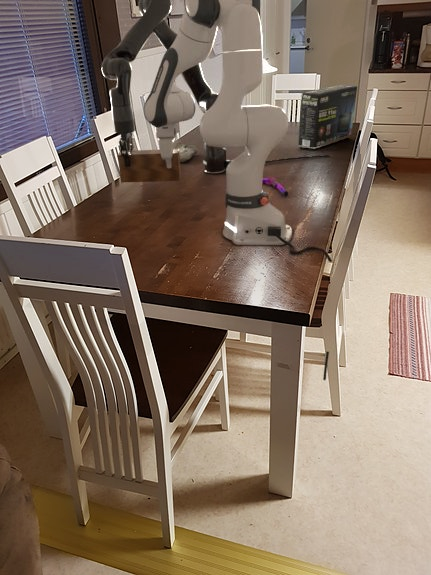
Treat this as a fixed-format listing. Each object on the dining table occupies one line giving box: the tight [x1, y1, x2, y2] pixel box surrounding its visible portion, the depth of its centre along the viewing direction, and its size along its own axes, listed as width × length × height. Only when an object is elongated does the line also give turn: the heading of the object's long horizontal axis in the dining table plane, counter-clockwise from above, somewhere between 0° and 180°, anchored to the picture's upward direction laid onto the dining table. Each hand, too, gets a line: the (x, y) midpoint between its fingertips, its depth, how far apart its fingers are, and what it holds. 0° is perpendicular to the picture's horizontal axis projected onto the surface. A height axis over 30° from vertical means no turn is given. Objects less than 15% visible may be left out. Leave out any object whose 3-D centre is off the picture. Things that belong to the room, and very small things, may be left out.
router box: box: [297, 84, 358, 151], centre depth 238 cm, size 36×11×27 cm, turn 134°
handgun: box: [262, 176, 289, 197], centre depth 185 cm, size 21×8×2 cm, turn 11°
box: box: [116, 149, 182, 183], centre depth 176 cm, size 23×6×11 cm, turn 89°
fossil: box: [175, 142, 199, 163], centre depth 229 cm, size 18×11×15 cm
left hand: (129, 164), depth 176 cm, fingers closed on box, 6 cm apart
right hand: (170, 164), depth 176 cm, fingers closed on box, 6 cm apart
